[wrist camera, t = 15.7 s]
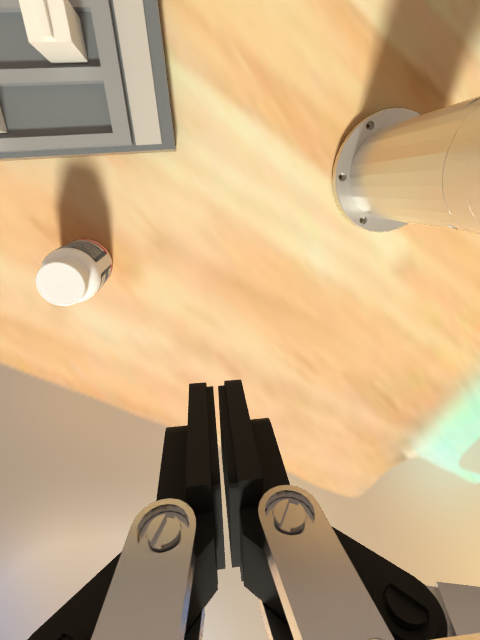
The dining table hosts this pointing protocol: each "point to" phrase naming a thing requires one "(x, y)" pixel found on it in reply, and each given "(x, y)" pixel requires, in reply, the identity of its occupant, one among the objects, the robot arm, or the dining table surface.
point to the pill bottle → (73, 272)
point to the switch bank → (87, 86)
